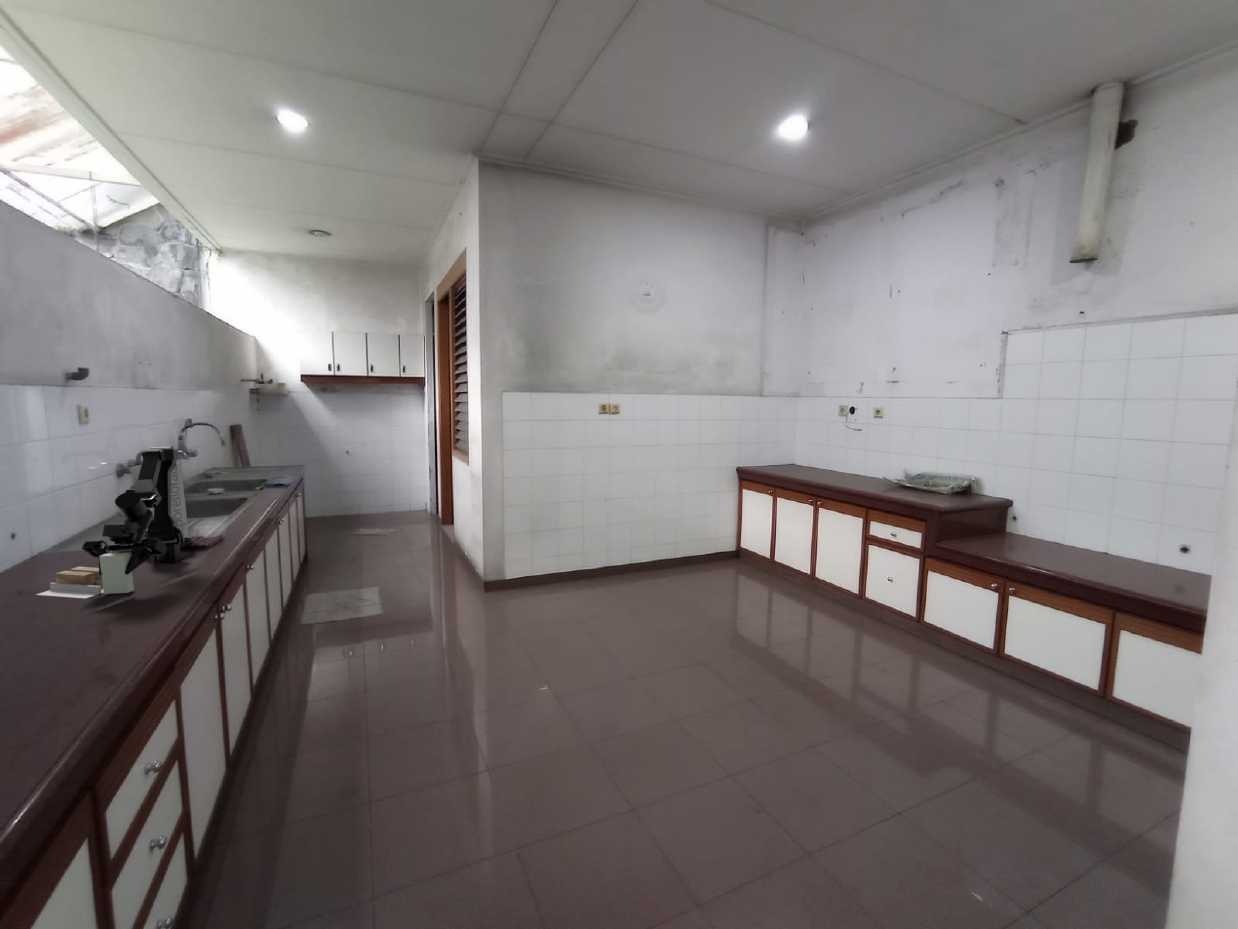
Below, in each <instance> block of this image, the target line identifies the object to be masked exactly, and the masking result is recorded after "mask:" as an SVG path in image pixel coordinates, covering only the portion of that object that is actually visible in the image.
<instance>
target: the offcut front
mask: <svg viewBox="0 0 1238 929" xmlns="http://www.w3.org/2000/svg"><path fill="white" fill-rule="evenodd" d="M69 571H76V572H91V573H94V578H95V580H102V576H101V575H99V567H90V566H89V567H88V566H77V567H73V568H70V569H69Z"/></svg>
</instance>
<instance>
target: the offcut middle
mask: <svg viewBox="0 0 1238 929" xmlns="http://www.w3.org/2000/svg"><path fill="white" fill-rule="evenodd" d="M54 577H55V583H65V584H79V585H93V586H95V578H94V573H91V572H76V571H70V570H63V571H60V572H55V573H54Z"/></svg>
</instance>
